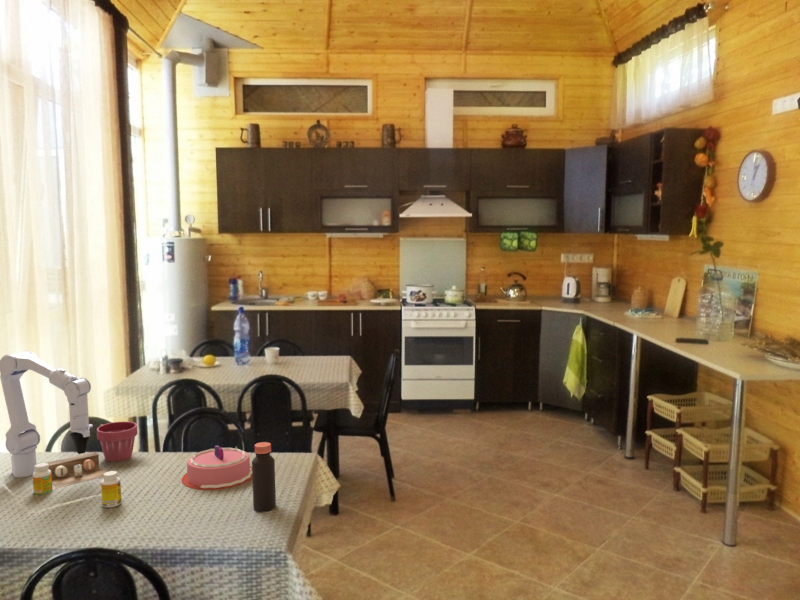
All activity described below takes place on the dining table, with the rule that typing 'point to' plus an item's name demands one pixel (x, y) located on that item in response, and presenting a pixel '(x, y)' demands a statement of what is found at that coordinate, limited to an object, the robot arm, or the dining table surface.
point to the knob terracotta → (88, 464)
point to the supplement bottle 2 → (111, 489)
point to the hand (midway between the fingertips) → (81, 453)
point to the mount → (69, 464)
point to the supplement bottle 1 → (42, 479)
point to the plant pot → (117, 440)
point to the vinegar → (263, 478)
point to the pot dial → (78, 471)
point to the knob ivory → (60, 471)
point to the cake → (217, 469)
